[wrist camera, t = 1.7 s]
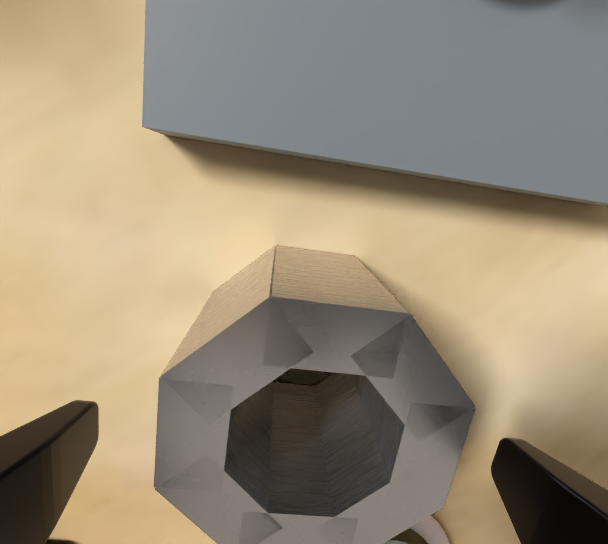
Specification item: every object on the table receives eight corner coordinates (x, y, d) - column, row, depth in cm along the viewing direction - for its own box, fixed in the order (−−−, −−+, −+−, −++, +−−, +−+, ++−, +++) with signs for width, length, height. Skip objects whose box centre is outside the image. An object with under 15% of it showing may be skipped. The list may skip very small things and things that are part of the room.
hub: (371, 423, 13) (423, 567, 8) (202, 409, 12) (150, 555, 8) (409, 263, 11) (502, 325, 7) (216, 237, 11) (164, 283, 6)
